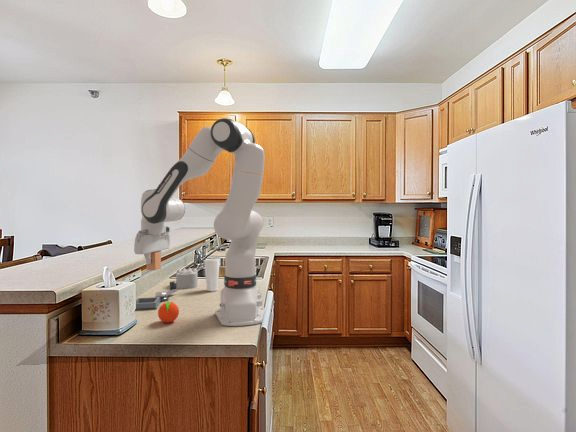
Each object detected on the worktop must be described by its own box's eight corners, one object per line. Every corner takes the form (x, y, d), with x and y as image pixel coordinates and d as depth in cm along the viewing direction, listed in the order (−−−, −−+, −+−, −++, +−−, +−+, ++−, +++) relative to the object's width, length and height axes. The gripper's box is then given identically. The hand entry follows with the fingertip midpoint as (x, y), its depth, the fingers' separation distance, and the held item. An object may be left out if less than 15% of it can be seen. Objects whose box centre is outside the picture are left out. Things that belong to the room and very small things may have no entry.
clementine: (178, 325, 117) (178, 304, 117) (156, 327, 115) (156, 306, 115) (179, 318, 125) (179, 298, 124) (159, 319, 123) (158, 299, 123)
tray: (155, 309, 136) (155, 302, 136) (131, 310, 134) (131, 303, 134) (160, 302, 145) (160, 297, 144) (137, 304, 143) (137, 298, 143)
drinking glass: (213, 288, 171) (213, 257, 171) (222, 290, 167) (222, 259, 166) (202, 290, 166) (201, 259, 166) (211, 292, 162) (210, 260, 161)
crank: (162, 298, 146) (162, 287, 146) (153, 297, 147) (153, 287, 147) (179, 291, 158) (179, 281, 158) (171, 290, 160) (170, 281, 159)
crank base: (167, 301, 146) (167, 298, 146) (152, 302, 145) (152, 299, 145) (169, 298, 152) (169, 295, 152) (155, 298, 151) (155, 296, 151)
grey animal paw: (176, 289, 169) (175, 271, 169) (176, 283, 181) (176, 267, 181) (198, 288, 172) (197, 270, 172) (197, 282, 184) (196, 266, 184)
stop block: (155, 270, 140) (155, 253, 140) (146, 270, 141) (146, 252, 141) (160, 268, 144) (160, 252, 144) (152, 268, 145) (152, 251, 145)
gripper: (144, 230, 131) (144, 267, 132) (172, 227, 151) (172, 259, 152) (129, 230, 133) (130, 266, 133) (159, 227, 153) (159, 258, 153)
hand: (153, 262), depth 142 cm, fingers closed on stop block, 4 cm apart
